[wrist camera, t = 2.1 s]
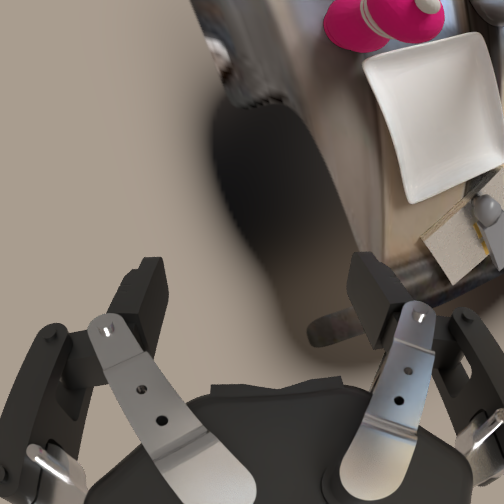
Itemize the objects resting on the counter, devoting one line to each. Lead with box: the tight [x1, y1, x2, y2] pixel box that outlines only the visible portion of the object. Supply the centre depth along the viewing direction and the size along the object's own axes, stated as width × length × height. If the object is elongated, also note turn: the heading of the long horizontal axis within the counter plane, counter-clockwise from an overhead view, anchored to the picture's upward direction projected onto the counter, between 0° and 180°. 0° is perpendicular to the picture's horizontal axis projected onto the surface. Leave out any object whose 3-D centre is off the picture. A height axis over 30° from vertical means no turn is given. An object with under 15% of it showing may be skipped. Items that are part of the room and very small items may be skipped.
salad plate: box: [362, 32, 504, 204], centre depth 29 cm, size 21×21×3 cm
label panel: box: [420, 165, 504, 285], centre depth 39 cm, size 20×15×3 cm
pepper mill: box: [324, 0, 445, 53], centre depth 18 cm, size 7×7×20 cm
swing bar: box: [474, 194, 504, 271], centre depth 36 cm, size 16×5×2 cm, turn 49°
